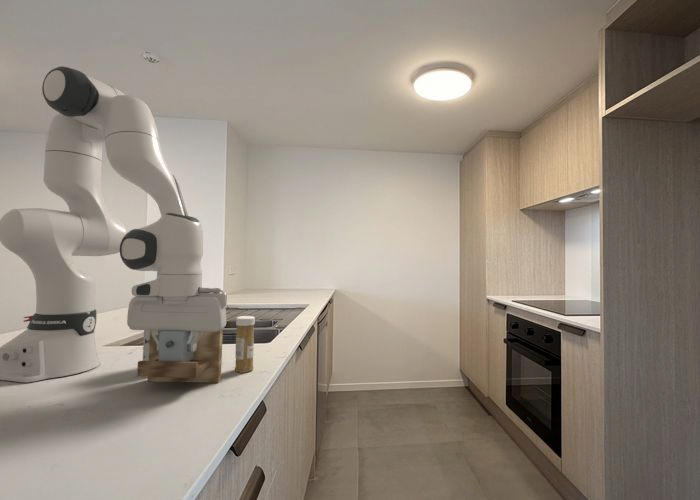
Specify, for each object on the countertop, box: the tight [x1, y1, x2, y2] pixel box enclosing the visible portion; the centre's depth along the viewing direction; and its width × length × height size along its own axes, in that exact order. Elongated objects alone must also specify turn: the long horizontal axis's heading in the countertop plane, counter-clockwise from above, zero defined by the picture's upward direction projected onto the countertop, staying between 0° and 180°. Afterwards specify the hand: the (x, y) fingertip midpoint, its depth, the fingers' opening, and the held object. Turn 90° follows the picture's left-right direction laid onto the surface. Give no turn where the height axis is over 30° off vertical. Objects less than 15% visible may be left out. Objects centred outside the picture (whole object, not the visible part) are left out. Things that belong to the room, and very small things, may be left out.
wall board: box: [136, 328, 224, 384], centre depth 71 cm, size 16×8×12 cm, turn 90°
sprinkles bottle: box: [234, 315, 256, 374], centre depth 83 cm, size 5×5×14 cm
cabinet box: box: [158, 330, 194, 362], centre depth 71 cm, size 5×6×7 cm
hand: (176, 350), depth 71 cm, fingers closed on cabinet box, 5 cm apart
